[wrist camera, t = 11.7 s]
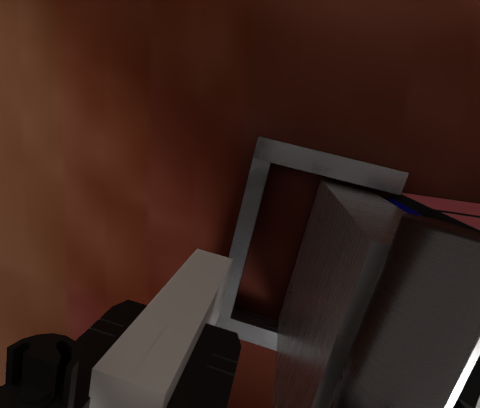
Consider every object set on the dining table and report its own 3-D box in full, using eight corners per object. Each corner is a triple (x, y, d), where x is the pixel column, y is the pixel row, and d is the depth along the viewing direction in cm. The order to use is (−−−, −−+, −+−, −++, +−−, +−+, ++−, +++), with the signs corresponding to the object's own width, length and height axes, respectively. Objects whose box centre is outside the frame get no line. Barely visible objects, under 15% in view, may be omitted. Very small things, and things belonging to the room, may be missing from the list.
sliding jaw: (275, 329, 20) (250, 652, 7) (325, 165, 17) (420, 230, 5) (320, 343, 19) (376, 707, 7) (378, 178, 17) (636, 287, 4)
